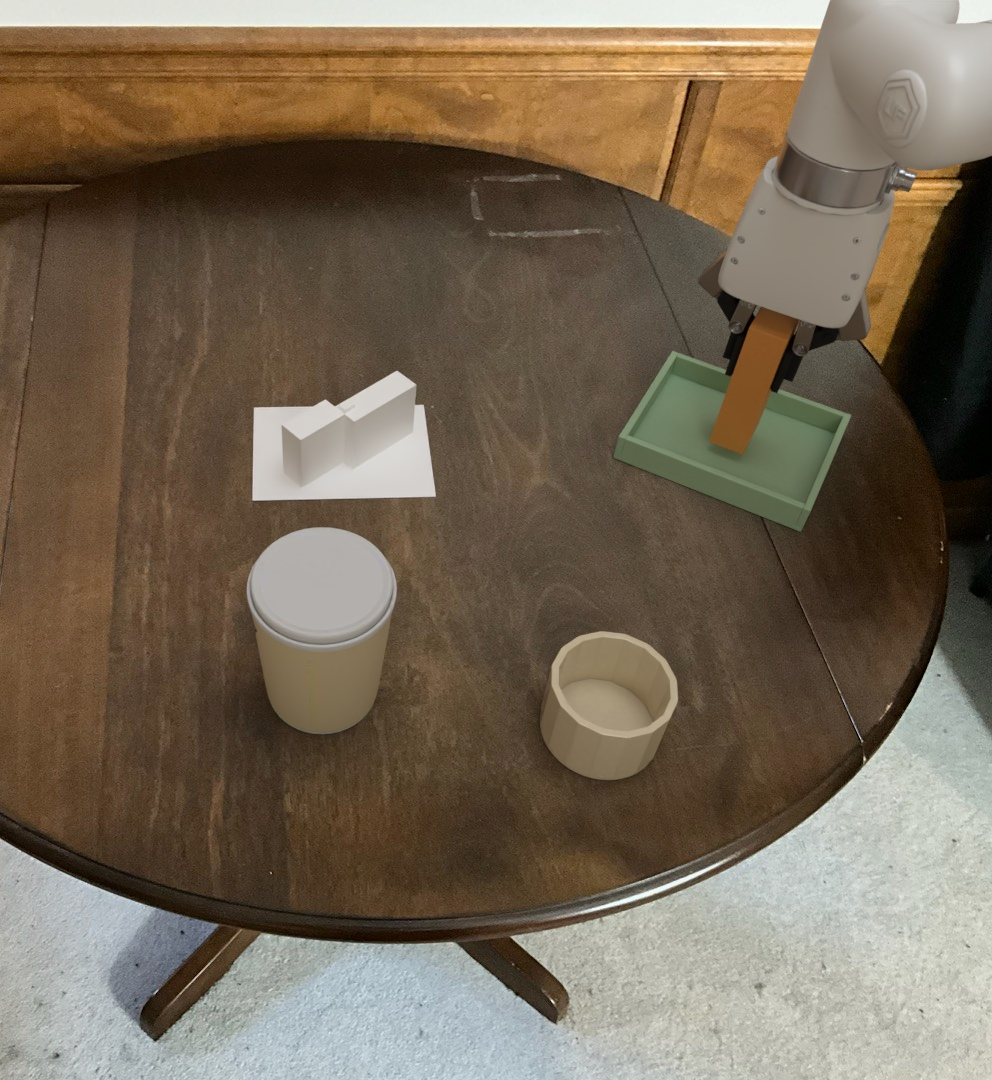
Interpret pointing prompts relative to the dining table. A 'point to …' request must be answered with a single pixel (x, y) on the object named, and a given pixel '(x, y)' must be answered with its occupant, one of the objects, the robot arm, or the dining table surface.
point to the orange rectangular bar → (752, 379)
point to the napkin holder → (345, 447)
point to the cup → (607, 705)
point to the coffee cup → (321, 626)
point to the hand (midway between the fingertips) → (756, 372)
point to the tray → (741, 480)
